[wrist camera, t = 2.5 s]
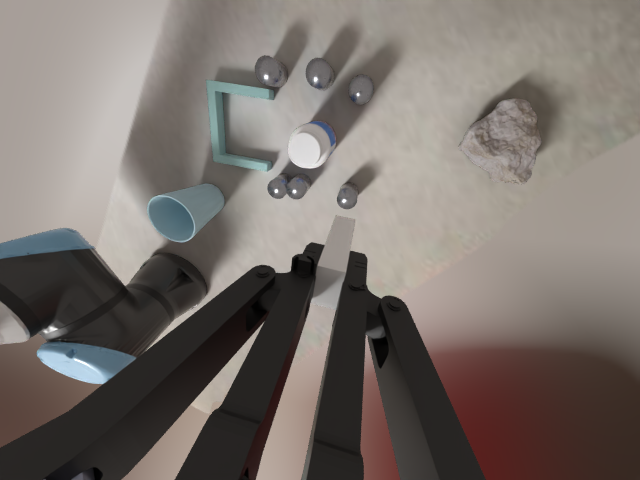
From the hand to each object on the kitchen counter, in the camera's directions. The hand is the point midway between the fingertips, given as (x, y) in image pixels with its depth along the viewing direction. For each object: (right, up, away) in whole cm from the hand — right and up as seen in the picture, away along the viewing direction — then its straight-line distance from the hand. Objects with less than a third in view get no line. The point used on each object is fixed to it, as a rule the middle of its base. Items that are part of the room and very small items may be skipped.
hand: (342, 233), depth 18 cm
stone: (+22, +13, +14) cm, 29 cm away
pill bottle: (-2, +15, +18) cm, 23 cm away
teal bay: (-13, +17, +19) cm, 28 cm away
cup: (-22, +8, +26) cm, 35 cm away
